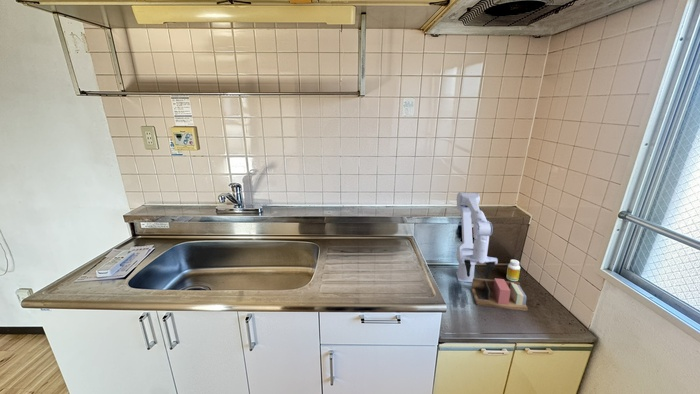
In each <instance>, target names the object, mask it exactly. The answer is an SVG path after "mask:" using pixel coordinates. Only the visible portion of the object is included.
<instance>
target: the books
mask: <svg viewBox="0 0 700 394" xmlns="http://www.w3.org/2000/svg"><path fill="white" fill-rule="evenodd" d="M510 290H511V291H510V294H511V296H512V298H513V300H514V302H515V303H516V304H517V305H525V304H526V305H527V295H526V293H525V292H524V290H523V289H522V287H521V284H520V285H517V284H514V283H511V284H510Z"/></svg>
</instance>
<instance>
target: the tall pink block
mask: <svg viewBox="0 0 700 394" xmlns="http://www.w3.org/2000/svg"><path fill="white" fill-rule="evenodd" d="M493 280H494V286H493V294H494V296H495V298H496V300H497V302H498V304H504V305H508V304H509V298H510V291H511V290H510V289H509V287H508V285H507V283H506V282H505V281H506V280H505V279H504V278H496V277H495V278H494V279H493Z"/></svg>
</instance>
